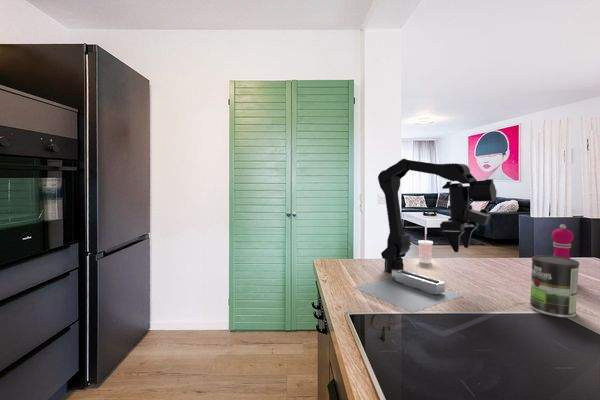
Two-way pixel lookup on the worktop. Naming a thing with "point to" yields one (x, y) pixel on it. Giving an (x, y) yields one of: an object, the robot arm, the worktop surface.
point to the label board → (405, 295)
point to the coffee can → (554, 285)
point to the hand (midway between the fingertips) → (461, 249)
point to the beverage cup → (425, 250)
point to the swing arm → (418, 281)
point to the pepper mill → (562, 241)
